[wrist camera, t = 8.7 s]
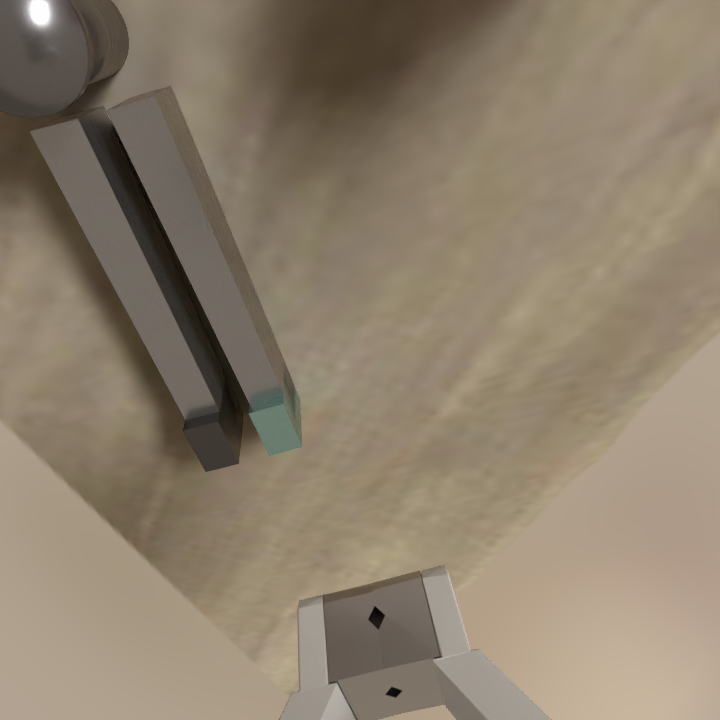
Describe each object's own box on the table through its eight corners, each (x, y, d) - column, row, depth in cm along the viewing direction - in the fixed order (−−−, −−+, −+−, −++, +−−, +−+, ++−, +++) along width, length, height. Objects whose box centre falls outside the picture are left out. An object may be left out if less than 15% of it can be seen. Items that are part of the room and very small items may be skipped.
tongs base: (-6, -16, 19) (-124, -29, 13) (109, -47, 19) (37, -72, 13) (214, 422, 31) (199, 510, 25) (284, 405, 31) (284, 489, 25)
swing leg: (128, 98, 21) (100, 114, 18) (170, 85, 21) (149, 99, 18) (270, 408, 31) (269, 455, 27) (300, 400, 31) (302, 446, 27)
